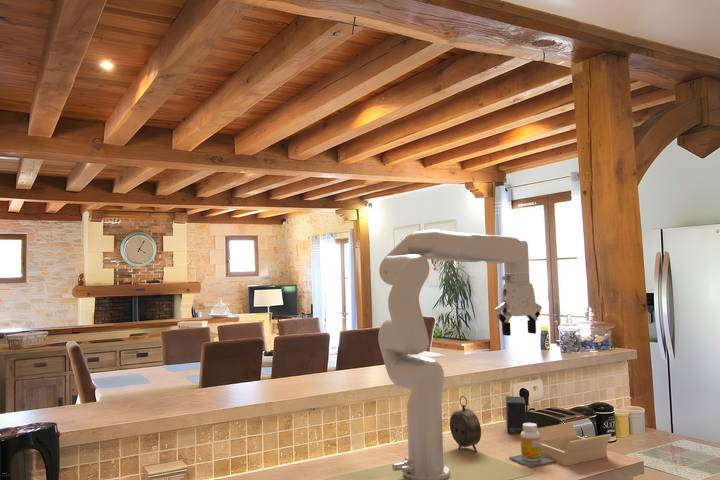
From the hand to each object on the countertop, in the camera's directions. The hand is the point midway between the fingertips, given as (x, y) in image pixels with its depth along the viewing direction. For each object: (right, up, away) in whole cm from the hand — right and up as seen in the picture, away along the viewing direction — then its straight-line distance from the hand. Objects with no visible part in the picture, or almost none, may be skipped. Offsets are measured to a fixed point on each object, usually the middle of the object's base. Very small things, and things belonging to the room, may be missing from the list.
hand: (519, 334), depth 184 cm
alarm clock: (-17, -36, -2) cm, 40 cm away
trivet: (0, -34, -15) cm, 37 cm away
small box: (+4, -36, +19) cm, 41 cm away
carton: (+12, -34, -11) cm, 38 cm away
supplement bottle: (-1, -34, -15) cm, 37 cm away
